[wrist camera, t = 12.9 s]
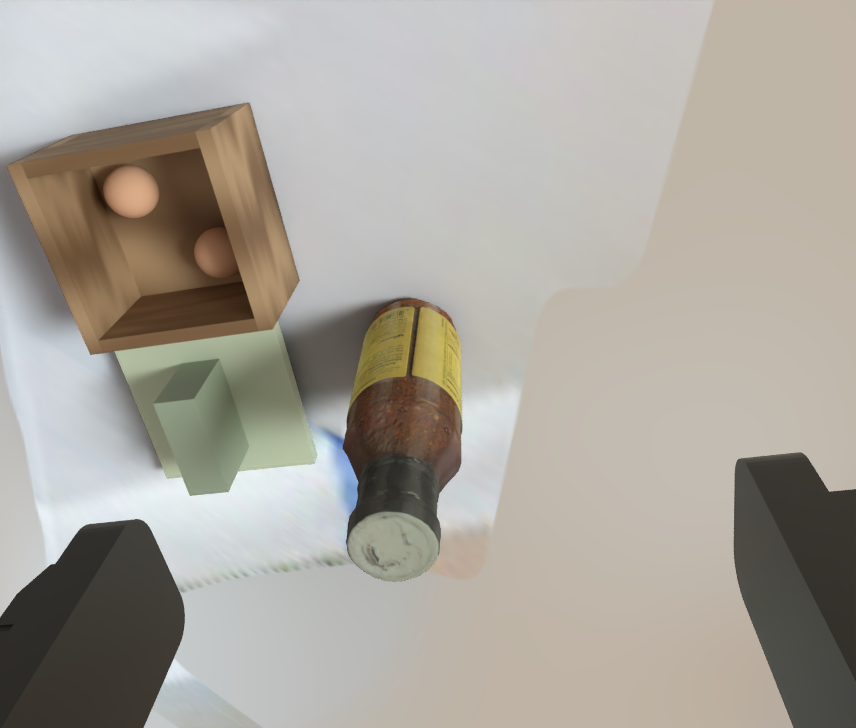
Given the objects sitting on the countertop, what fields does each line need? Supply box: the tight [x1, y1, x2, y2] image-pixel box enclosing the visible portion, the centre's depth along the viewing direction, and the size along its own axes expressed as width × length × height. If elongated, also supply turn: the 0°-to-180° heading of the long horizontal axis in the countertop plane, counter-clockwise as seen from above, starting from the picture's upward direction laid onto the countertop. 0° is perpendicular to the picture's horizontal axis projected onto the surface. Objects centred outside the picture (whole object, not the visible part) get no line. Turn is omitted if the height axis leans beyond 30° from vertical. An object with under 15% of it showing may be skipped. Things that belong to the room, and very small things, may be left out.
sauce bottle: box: [343, 299, 462, 582], centre depth 41 cm, size 6×6×20 cm
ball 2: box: [194, 227, 239, 278], centre depth 45 cm, size 3×3×3 cm
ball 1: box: [103, 165, 159, 218], centre depth 43 cm, size 3×3×3 cm
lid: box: [114, 321, 317, 496], centre depth 50 cm, size 11×11×7 cm
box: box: [7, 103, 300, 355], centre depth 43 cm, size 11×11×7 cm
